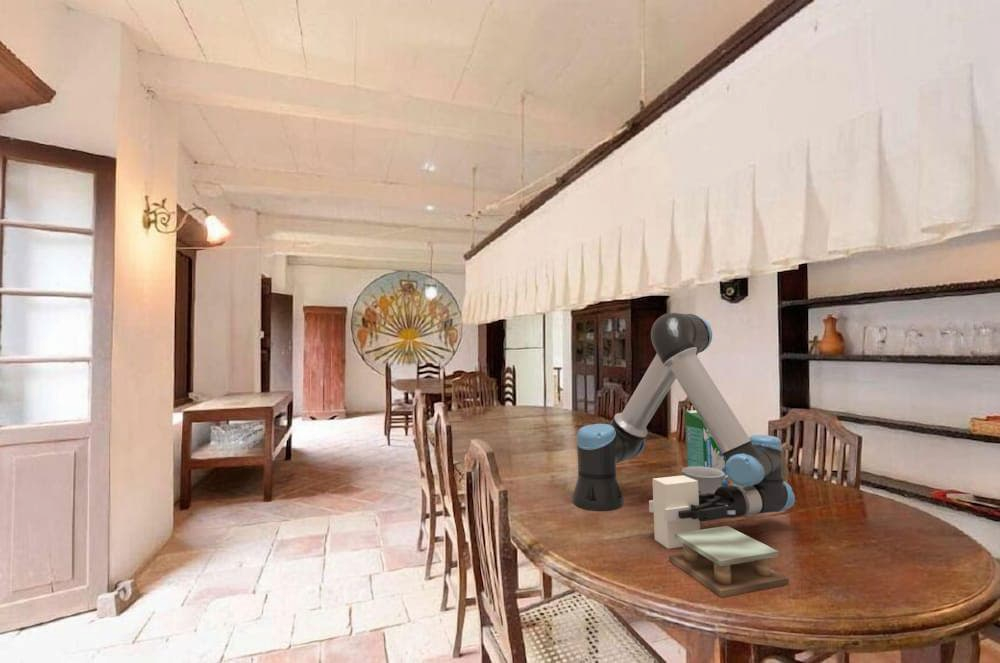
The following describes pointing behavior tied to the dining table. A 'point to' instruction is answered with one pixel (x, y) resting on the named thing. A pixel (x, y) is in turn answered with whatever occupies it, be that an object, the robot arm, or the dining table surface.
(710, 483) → the teacup
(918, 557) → the dining table surface
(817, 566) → the dining table surface
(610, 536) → the dining table surface
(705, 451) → the milk carton
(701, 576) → the peg shelf
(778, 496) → the robot arm
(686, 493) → the cream rectangular block
